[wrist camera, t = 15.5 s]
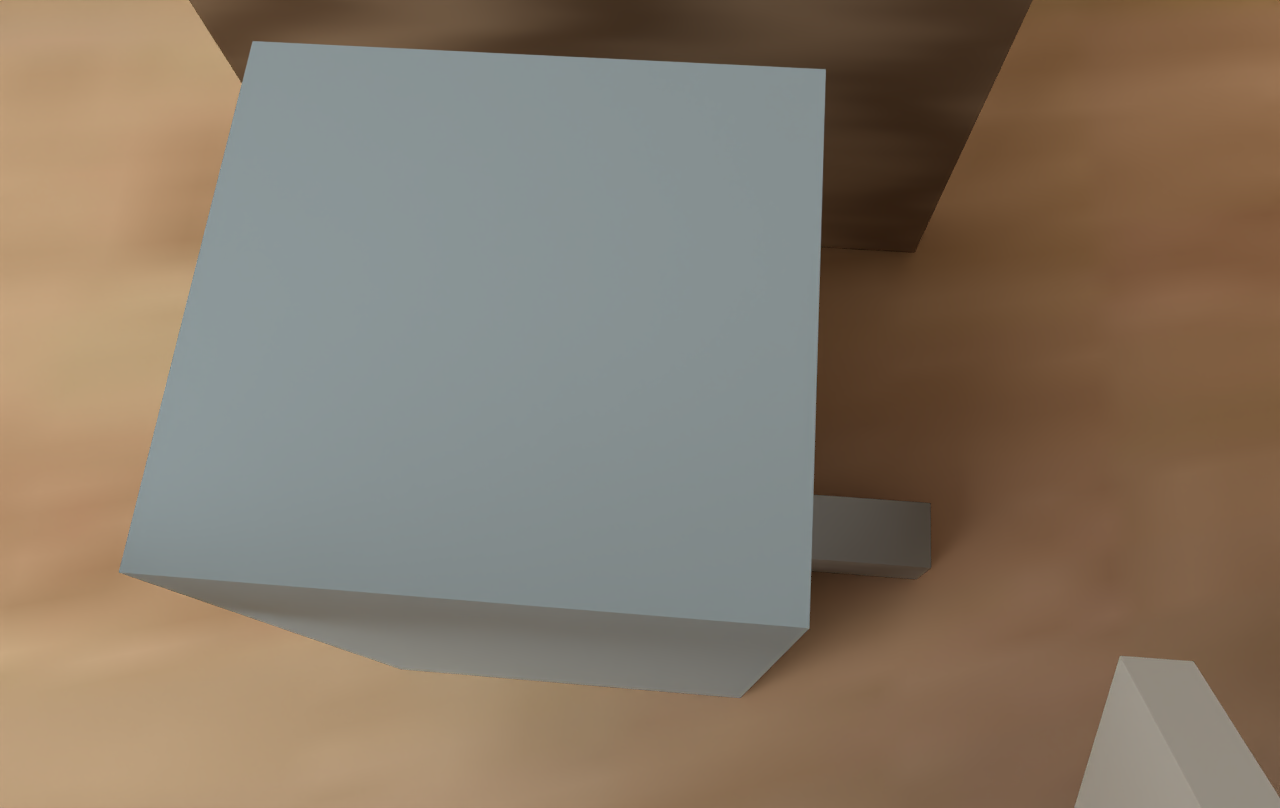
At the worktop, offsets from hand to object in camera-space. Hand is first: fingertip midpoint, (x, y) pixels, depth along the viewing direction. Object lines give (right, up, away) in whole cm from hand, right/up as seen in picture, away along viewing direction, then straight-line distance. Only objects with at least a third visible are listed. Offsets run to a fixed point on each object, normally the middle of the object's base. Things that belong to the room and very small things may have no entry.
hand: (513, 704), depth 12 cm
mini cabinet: (0, 0, +14) cm, 14 cm away
